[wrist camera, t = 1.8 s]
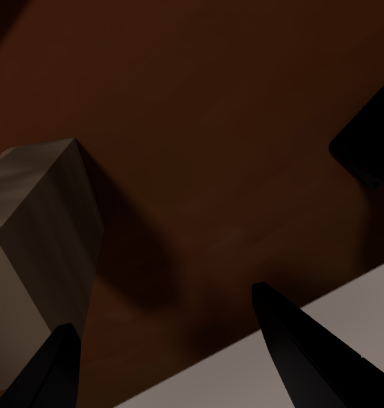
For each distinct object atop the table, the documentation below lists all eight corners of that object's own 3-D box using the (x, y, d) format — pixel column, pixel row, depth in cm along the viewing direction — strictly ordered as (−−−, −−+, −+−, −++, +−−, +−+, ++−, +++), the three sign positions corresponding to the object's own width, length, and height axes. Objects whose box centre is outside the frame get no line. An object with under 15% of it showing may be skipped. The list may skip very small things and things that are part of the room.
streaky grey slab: (74, 137, 17) (-6, 235, 8) (104, 227, 21) (74, 372, 11) (9, 147, 17) (-159, 263, 7) (51, 237, 20) (-28, 396, 11)
